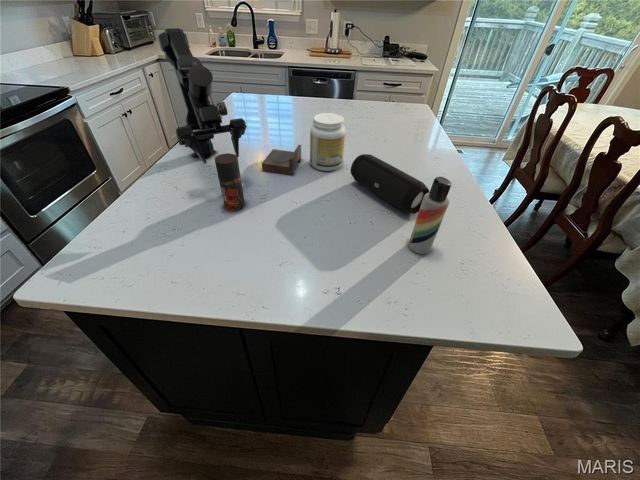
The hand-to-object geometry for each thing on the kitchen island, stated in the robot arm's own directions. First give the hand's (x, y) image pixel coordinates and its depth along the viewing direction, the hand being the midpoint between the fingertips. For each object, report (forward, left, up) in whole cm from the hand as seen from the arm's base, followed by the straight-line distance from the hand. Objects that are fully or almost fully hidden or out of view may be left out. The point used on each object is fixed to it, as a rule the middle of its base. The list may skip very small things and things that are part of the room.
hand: (222, 159), depth 83 cm
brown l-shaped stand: (+9, +24, -12) cm, 28 cm away
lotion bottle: (+58, -7, -12) cm, 60 cm away
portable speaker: (+47, +15, -12) cm, 51 cm away
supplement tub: (+24, +30, -12) cm, 40 cm away
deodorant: (+4, -4, -12) cm, 13 cm away
